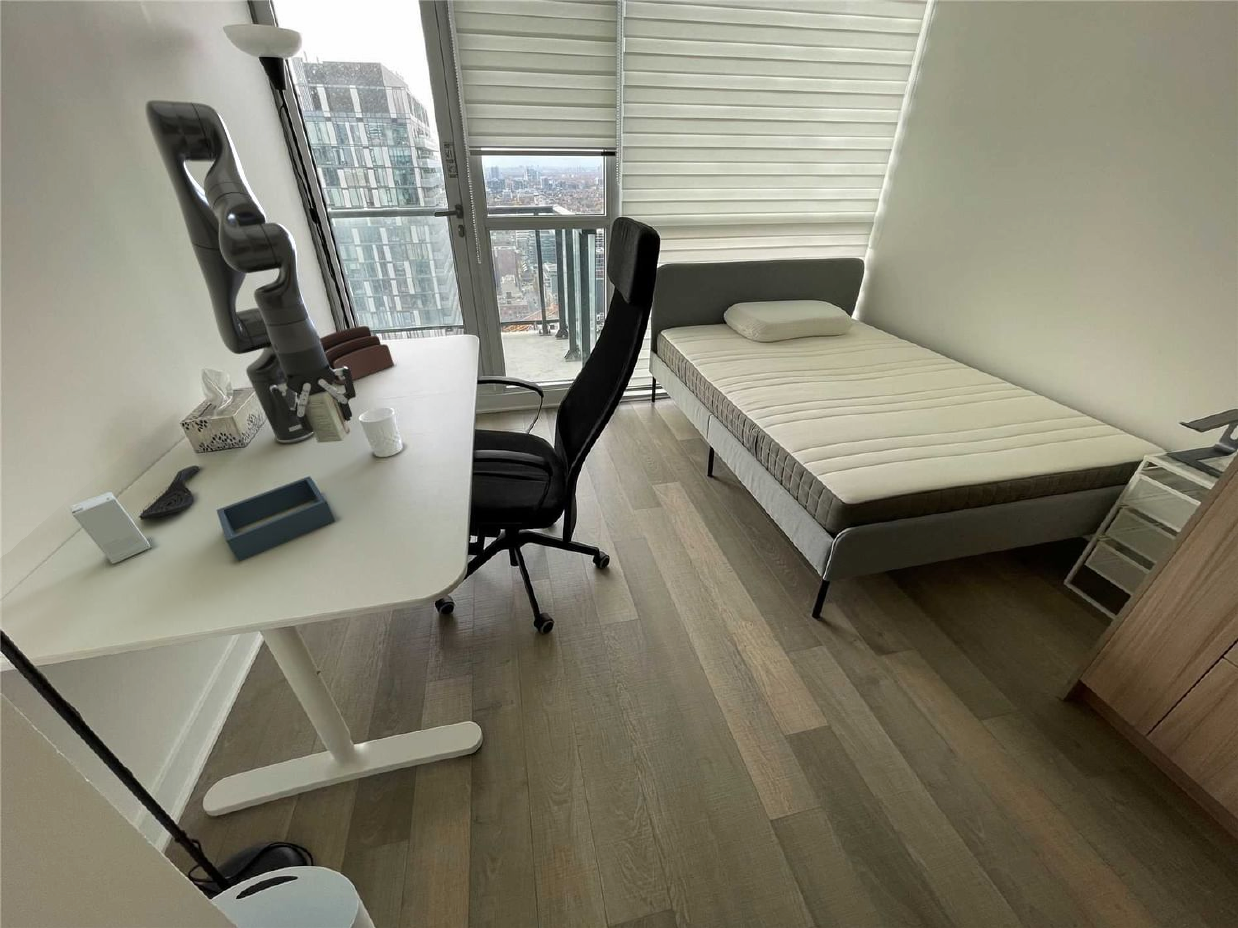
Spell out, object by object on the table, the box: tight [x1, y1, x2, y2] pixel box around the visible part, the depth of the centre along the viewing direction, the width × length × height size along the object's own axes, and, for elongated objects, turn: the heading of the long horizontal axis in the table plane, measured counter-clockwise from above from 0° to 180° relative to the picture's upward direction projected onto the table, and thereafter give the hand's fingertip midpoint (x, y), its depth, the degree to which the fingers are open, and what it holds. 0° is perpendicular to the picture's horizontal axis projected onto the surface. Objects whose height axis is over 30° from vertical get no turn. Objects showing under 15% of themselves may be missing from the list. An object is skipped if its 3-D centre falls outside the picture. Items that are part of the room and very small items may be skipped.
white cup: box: [358, 406, 403, 458], centre depth 125 cm, size 8×8×10 cm
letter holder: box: [320, 325, 395, 386], centre depth 172 cm, size 10×20×14 cm, turn 144°
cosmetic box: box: [69, 491, 151, 565], centre depth 95 cm, size 6×4×12 cm
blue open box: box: [216, 475, 336, 562], centre depth 102 cm, size 13×17×5 cm
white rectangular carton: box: [298, 391, 351, 444], centre depth 101 cm, size 5×4×10 cm
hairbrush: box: [138, 465, 200, 521], centre depth 114 cm, size 8×4×25 cm
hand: (329, 425), depth 102 cm, fingers closed on white rectangular carton, 6 cm apart
